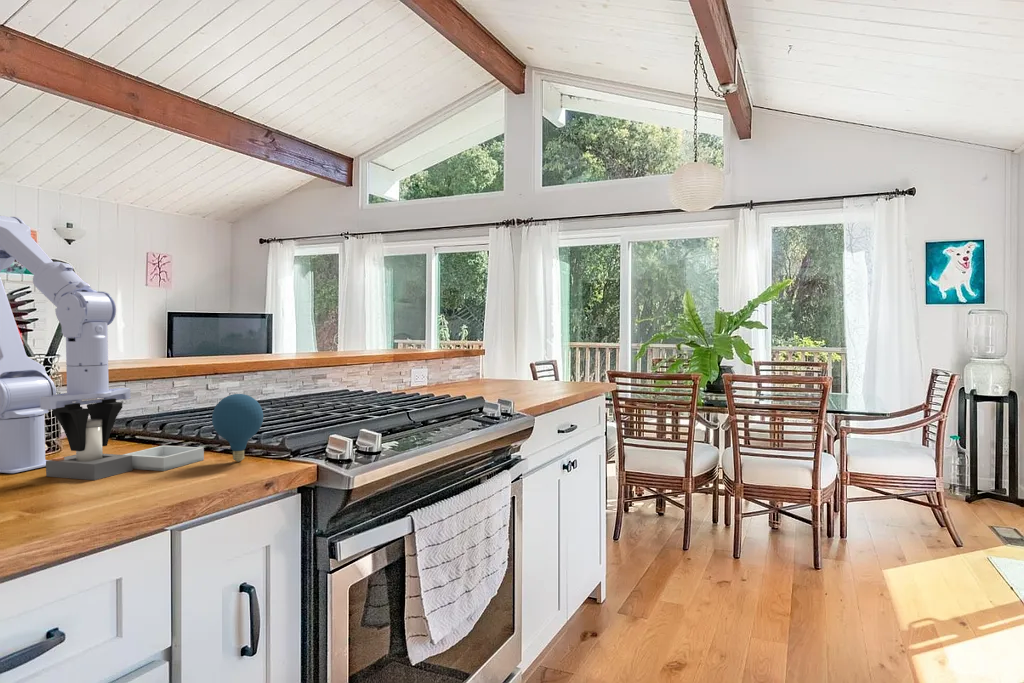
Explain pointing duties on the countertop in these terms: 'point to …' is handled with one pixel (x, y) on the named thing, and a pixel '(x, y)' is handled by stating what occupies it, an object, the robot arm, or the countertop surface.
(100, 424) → the cylinder
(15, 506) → the countertop surface
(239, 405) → the light bulb
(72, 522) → the countertop surface
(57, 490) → the countertop surface
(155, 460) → the parts tray
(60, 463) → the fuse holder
